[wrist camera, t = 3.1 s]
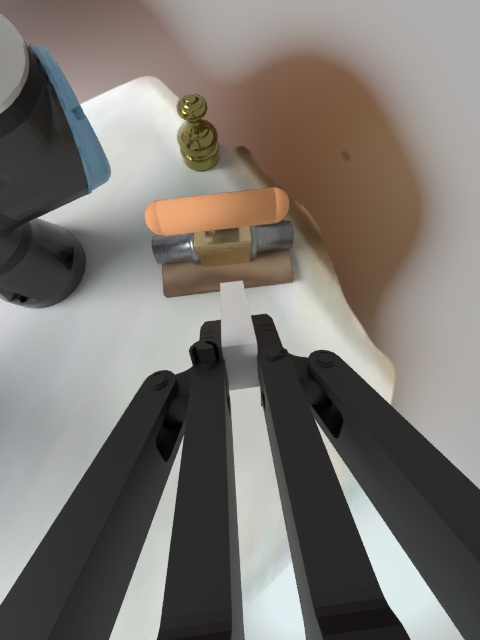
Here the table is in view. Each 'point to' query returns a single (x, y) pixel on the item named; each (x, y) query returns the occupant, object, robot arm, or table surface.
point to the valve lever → (217, 211)
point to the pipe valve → (225, 258)
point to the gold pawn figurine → (196, 134)
